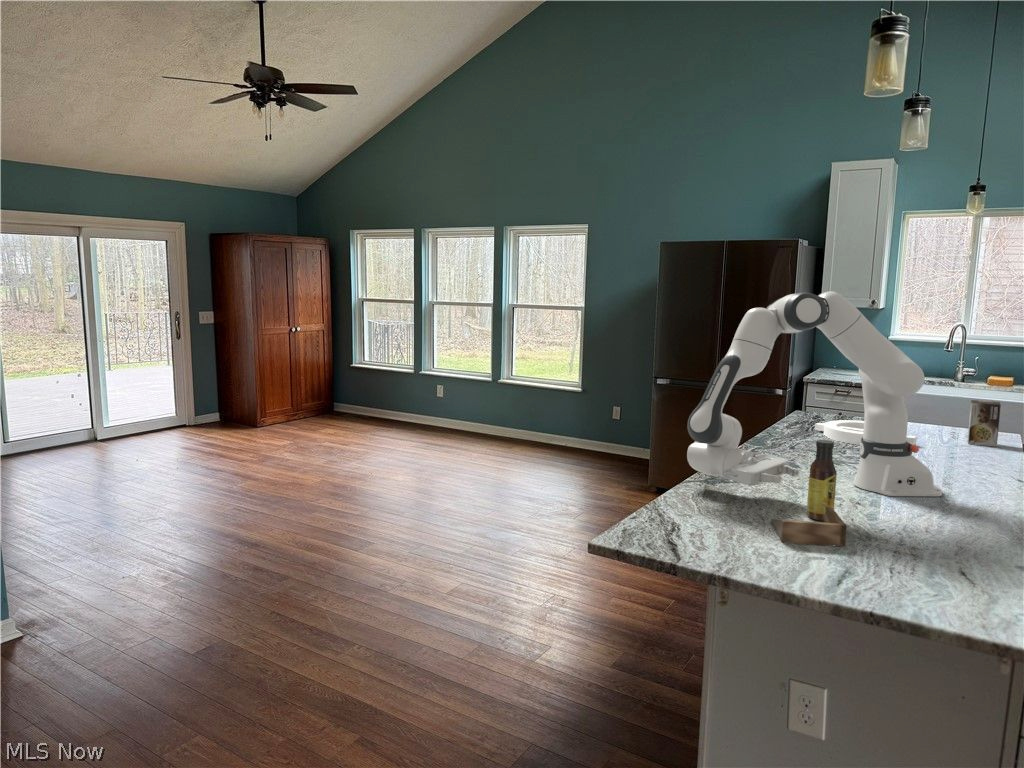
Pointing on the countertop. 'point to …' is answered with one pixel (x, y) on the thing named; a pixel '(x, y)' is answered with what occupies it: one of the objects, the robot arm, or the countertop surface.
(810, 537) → the corner arena
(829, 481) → the sauce bottle
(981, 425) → the food box
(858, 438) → the ring with crossbar
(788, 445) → the countertop surface
